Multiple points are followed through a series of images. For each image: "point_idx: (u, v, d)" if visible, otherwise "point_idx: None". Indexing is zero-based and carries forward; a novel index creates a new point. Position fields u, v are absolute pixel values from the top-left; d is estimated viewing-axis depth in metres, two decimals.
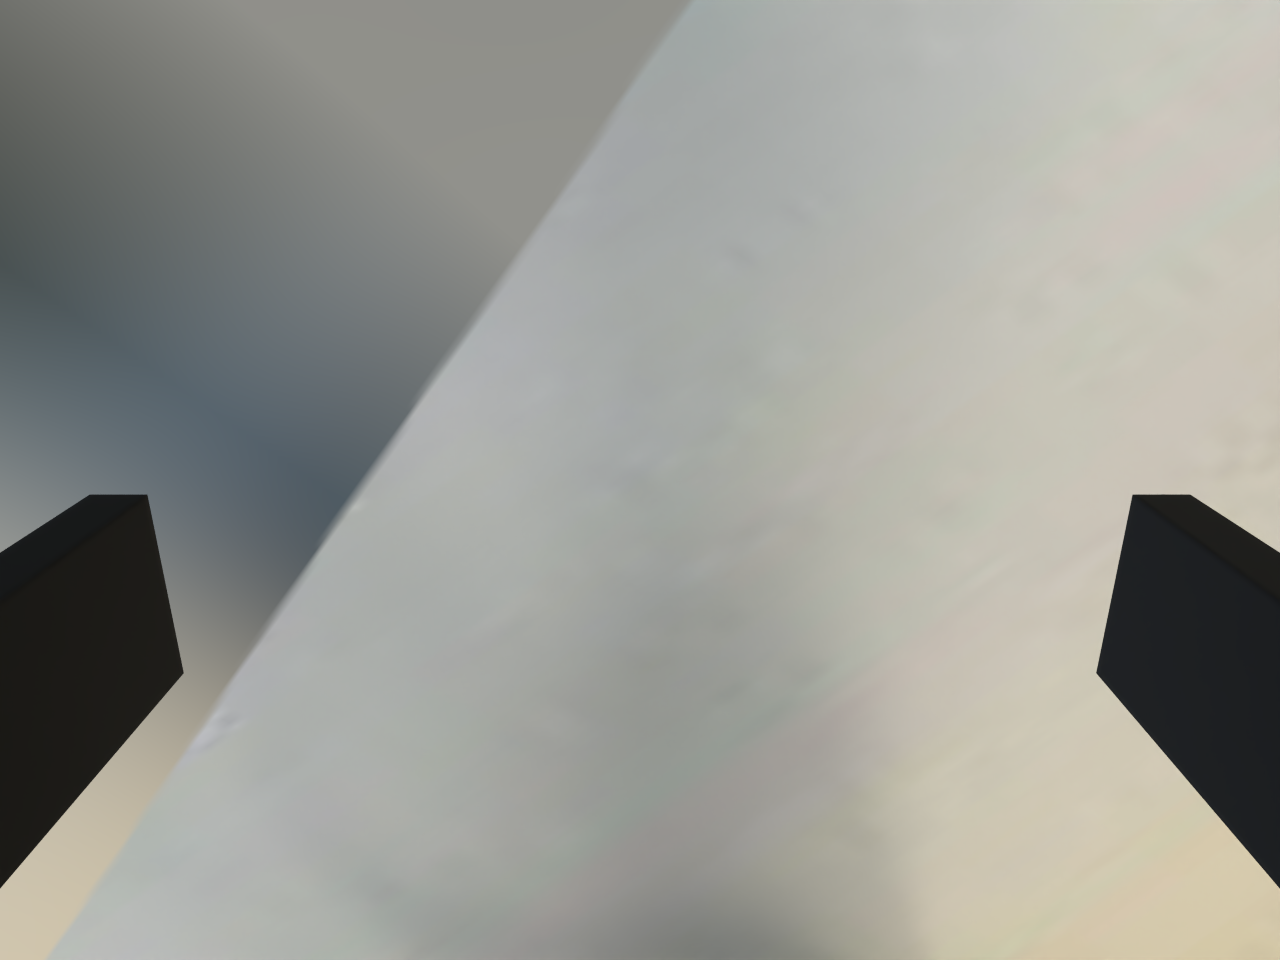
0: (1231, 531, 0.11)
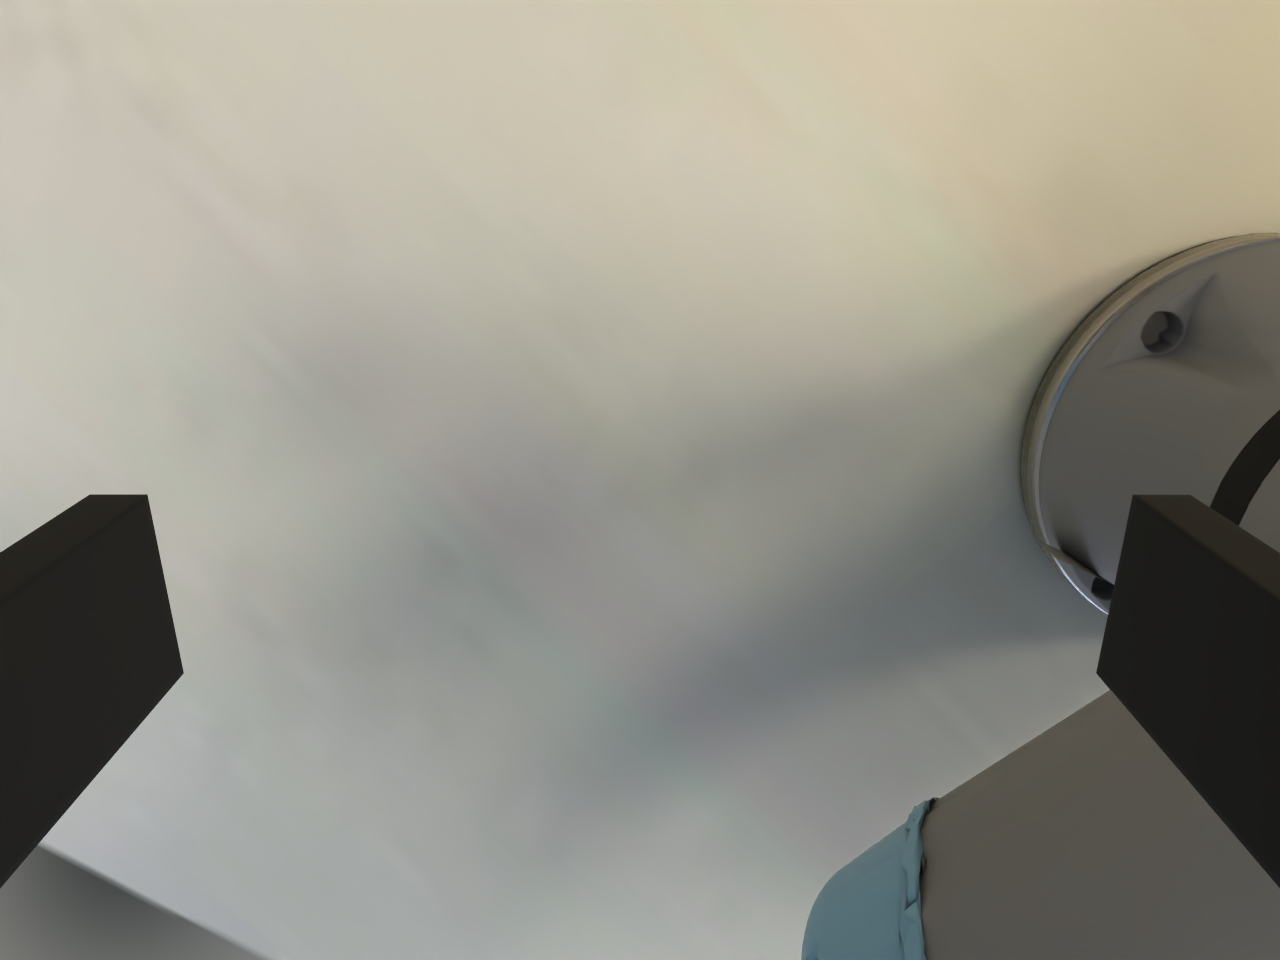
0: (1231, 532, 0.11)
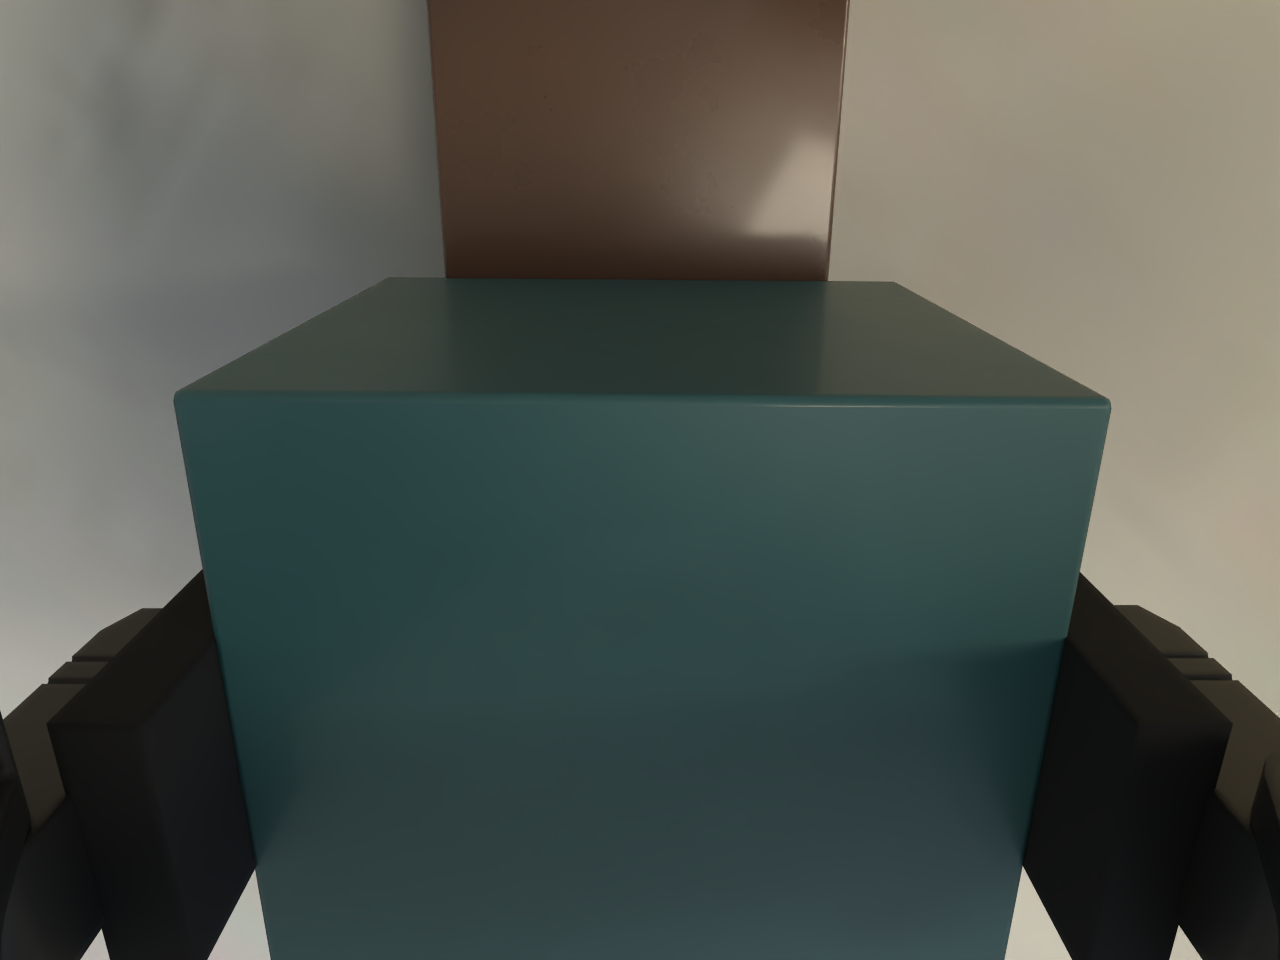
0: None
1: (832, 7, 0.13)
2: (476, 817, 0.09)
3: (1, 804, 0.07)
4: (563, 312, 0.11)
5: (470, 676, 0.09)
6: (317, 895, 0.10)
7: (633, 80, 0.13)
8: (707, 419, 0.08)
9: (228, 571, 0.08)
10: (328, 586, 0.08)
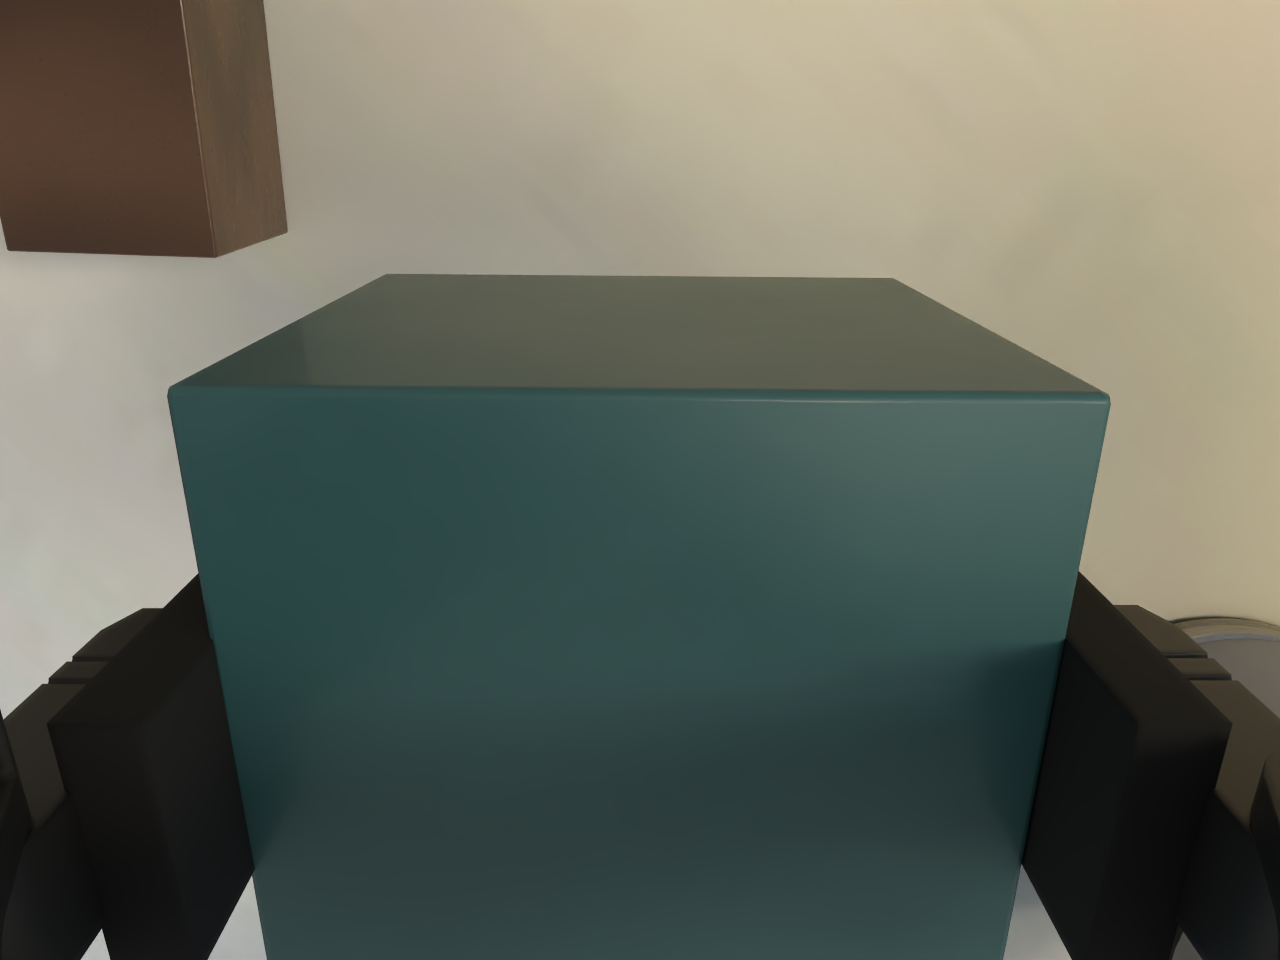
0: None
1: None
2: (472, 814, 0.09)
3: (1, 804, 0.07)
4: (561, 308, 0.11)
5: (466, 673, 0.09)
6: (313, 893, 0.10)
7: None
8: (703, 414, 0.08)
9: (223, 567, 0.08)
10: (324, 583, 0.08)
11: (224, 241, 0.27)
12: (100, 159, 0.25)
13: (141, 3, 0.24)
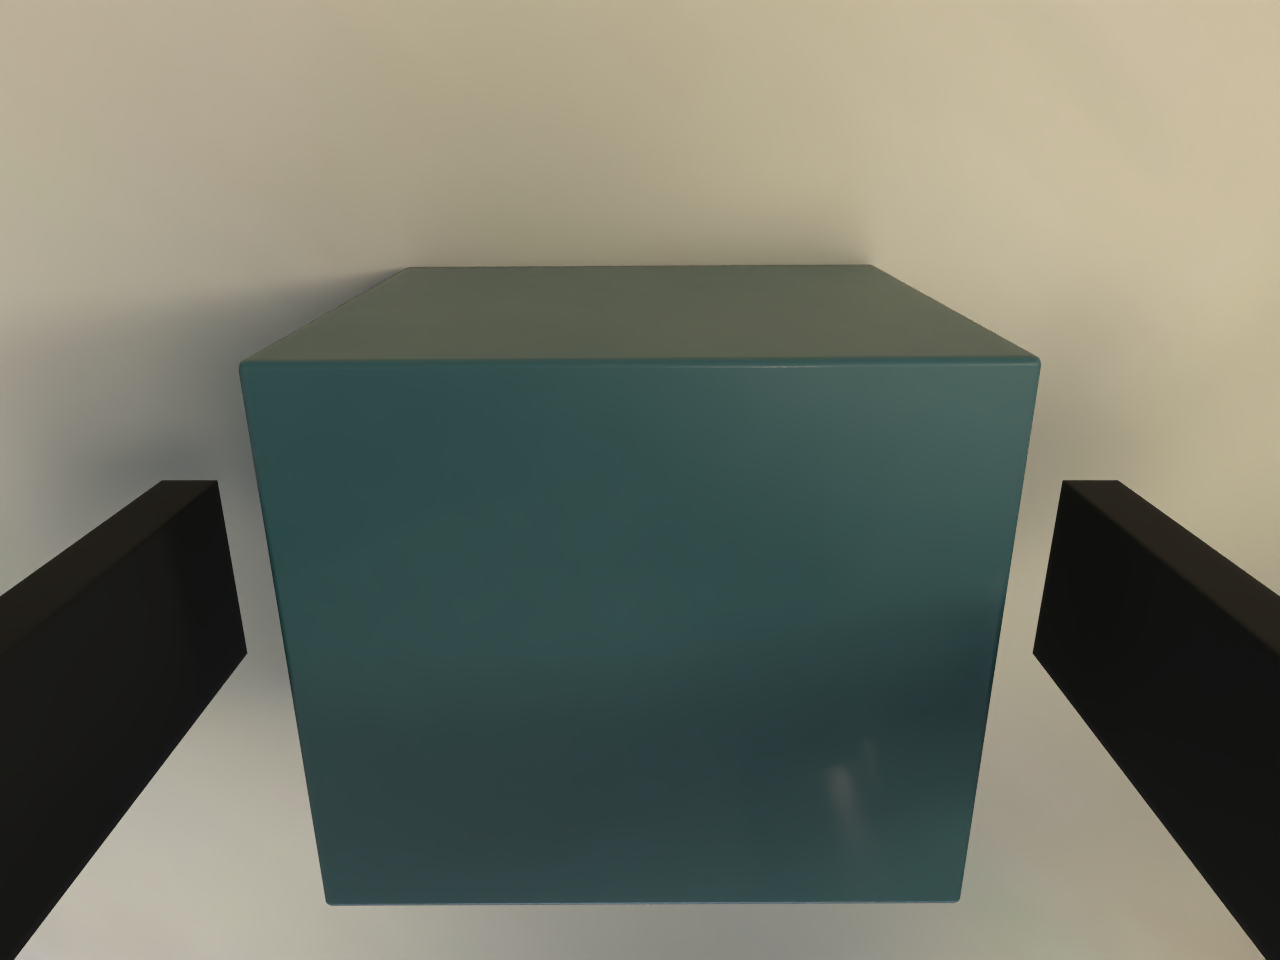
0: (1149, 514, 0.11)
1: None
2: (498, 734, 0.11)
3: None
4: (569, 294, 0.13)
5: (493, 607, 0.10)
6: (361, 806, 0.11)
7: None
8: (694, 380, 0.09)
9: (285, 517, 0.10)
10: (371, 530, 0.10)
11: None
12: None
13: None
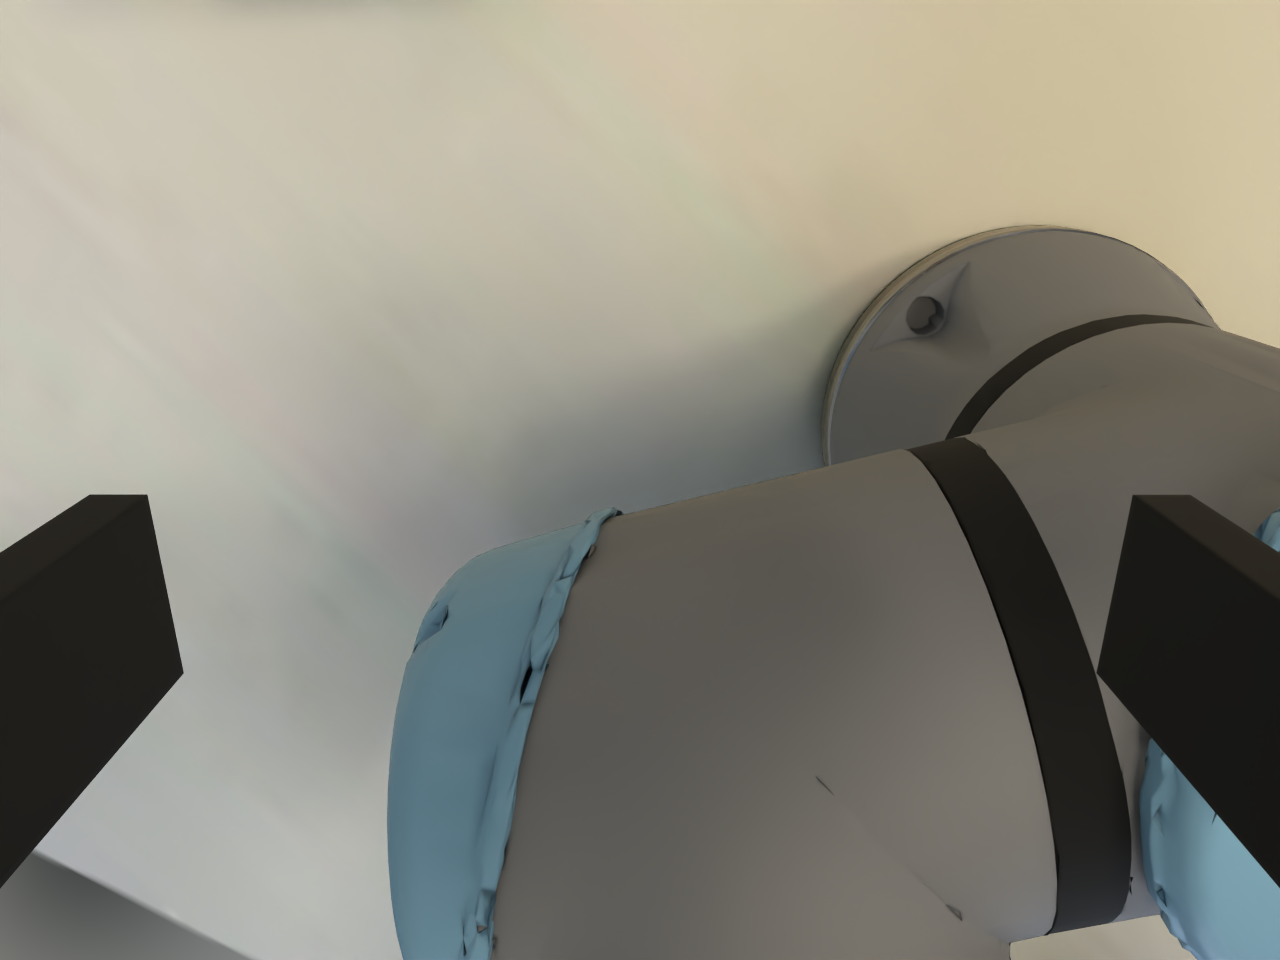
0: (1231, 532, 0.11)
1: None
2: None
3: None
4: None
5: None
6: None
7: None
8: None
9: None
10: None
11: None
12: None
13: None
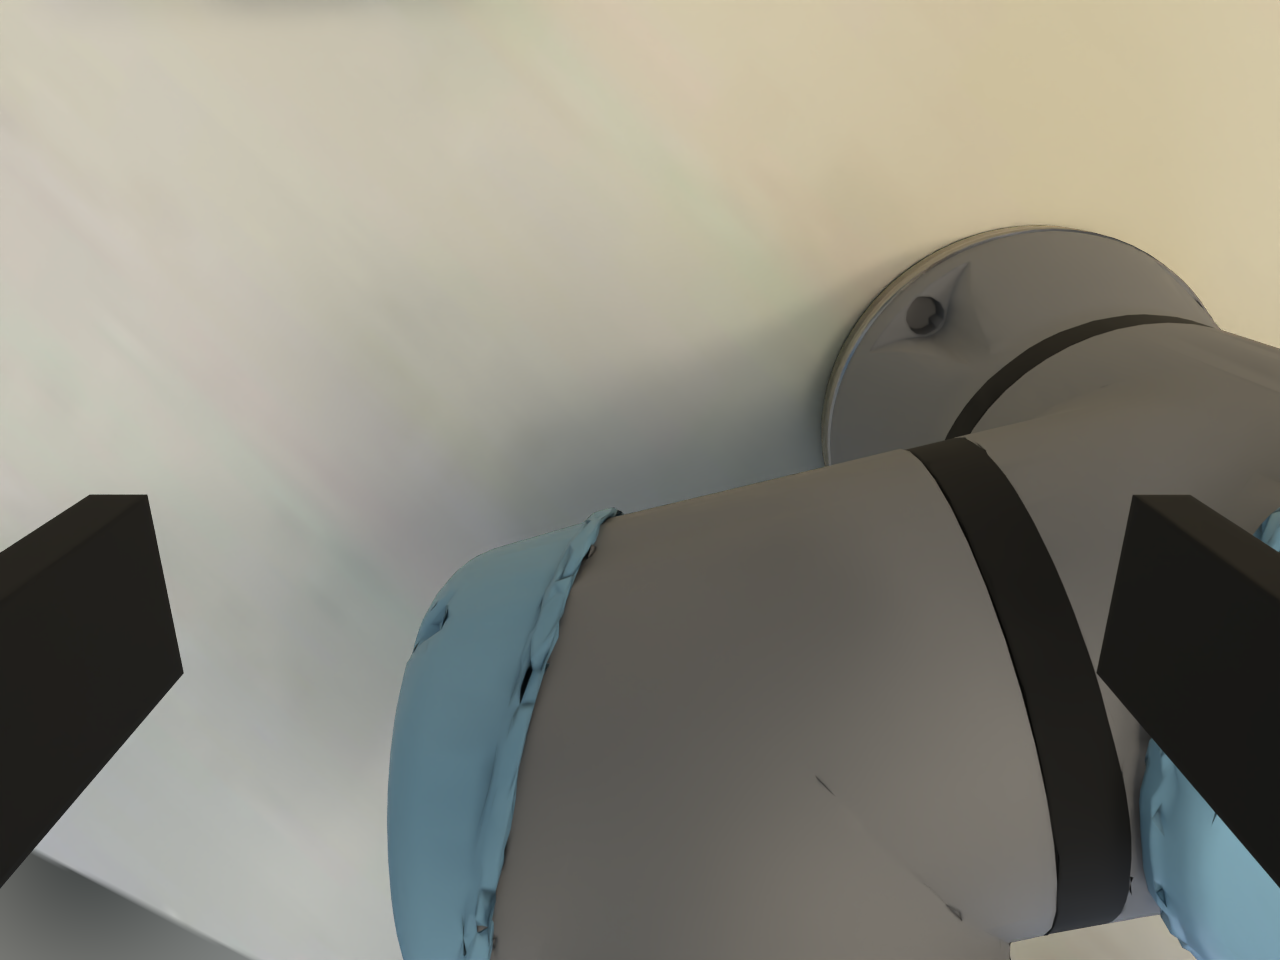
0: (1231, 532, 0.11)
1: None
2: None
3: None
4: None
5: None
6: None
7: None
8: None
9: None
10: None
11: None
12: None
13: None
